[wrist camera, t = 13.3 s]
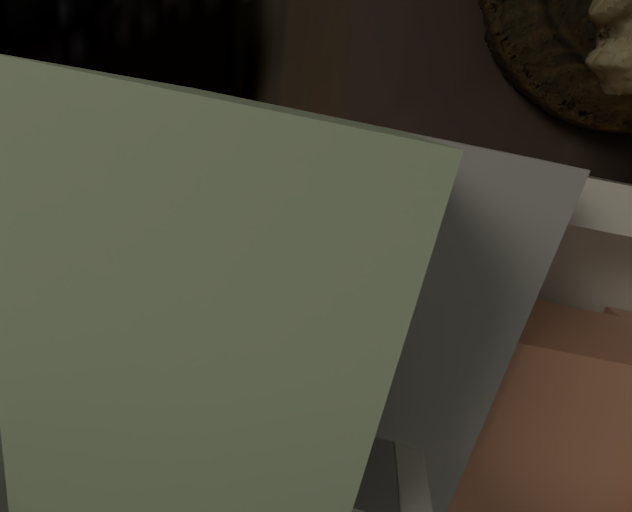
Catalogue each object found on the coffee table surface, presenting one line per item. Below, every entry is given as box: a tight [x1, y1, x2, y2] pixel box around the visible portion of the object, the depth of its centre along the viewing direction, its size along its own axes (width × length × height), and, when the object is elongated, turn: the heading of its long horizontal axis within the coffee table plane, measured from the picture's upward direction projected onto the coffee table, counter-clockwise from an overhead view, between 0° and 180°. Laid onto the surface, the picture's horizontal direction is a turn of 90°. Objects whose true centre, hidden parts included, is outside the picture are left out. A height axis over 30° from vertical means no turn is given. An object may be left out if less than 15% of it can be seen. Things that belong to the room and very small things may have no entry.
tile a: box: [446, 300, 632, 512], centre depth 11 cm, size 5×5×3 cm
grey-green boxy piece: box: [0, 54, 591, 512], centre depth 7 cm, size 12×7×5 cm, turn 169°
